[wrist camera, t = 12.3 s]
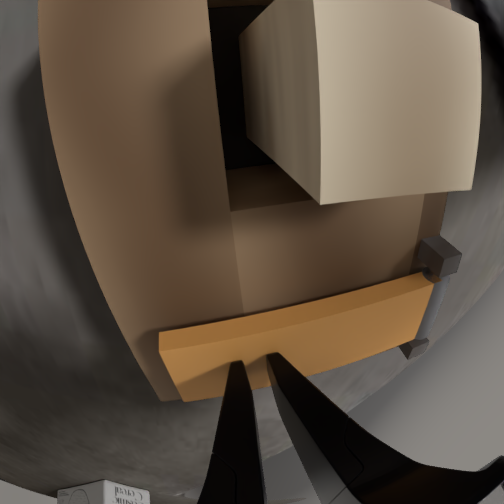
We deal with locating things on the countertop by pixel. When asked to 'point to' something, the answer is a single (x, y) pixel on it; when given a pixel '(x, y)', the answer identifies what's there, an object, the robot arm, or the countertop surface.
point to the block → (199, 185)
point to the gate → (303, 335)
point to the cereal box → (103, 494)
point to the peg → (364, 96)
